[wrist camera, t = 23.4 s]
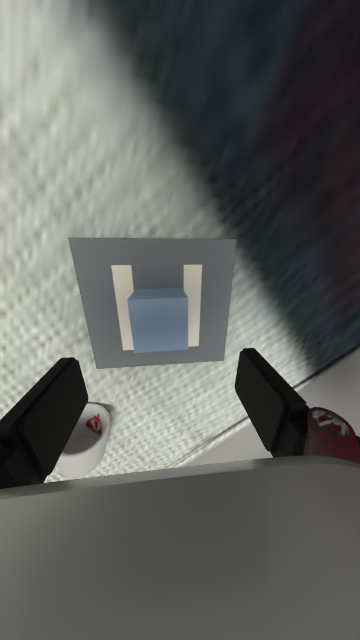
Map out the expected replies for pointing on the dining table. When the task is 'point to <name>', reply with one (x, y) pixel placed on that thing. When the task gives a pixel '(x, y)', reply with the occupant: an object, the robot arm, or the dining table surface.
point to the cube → (159, 319)
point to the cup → (86, 442)
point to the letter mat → (154, 272)
